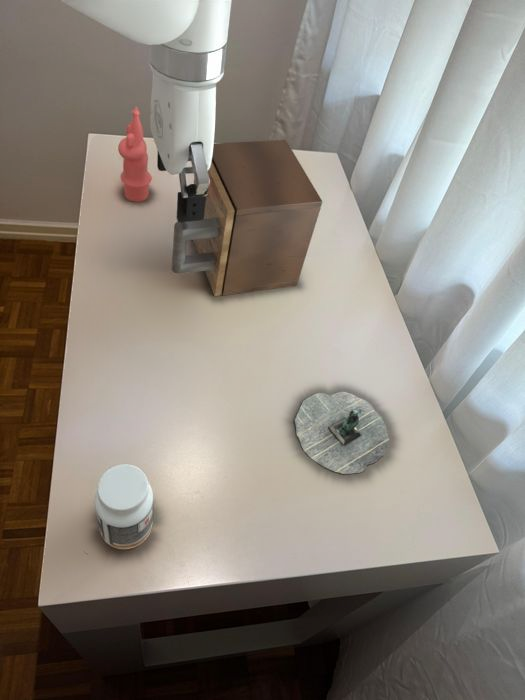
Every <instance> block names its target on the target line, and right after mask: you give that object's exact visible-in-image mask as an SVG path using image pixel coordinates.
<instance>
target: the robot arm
mask: <svg viewBox="0 0 525 700" xmlns="http://www.w3.org/2000/svg"><path fill="white" fill-rule="evenodd" d="M59 1H61V2H62V3H64V4H66V5H67V6H69V7H71V8H72V9H74V10H76V11H77V12H78V13H81V14H82V15H84V16H86V17H88V18H90V19H92V20H94V21H95V22H97V23H99V24H101V25H103V26H104V27H107V28H109V29H110V30H112V31H114V32H115V33H117V34H119V35H122V36H123V37H125V38H126V39H129V40H130V41H133V42H135V43H138V44H143V45H148V66H149V68H150V71H151V72H152V77H151V95H150V114H149V127H150V133H151V136H152V138H153V141H154V144H155V147H156V150H157V160H156V161H157V162H156V163H157V164H156V166H157V170H158V171H160V172H167V173H168V174H170V175H171V176H174V175H178V179H179V186H180V187H179V188H180V191H178V192H177V201H176V220H177V222H189V221H199V220H203V219H204V214H205V204H206V196H207V192H208V191H209V190H208V187H209V184H210V179H209V174H208V170H209V168H210V166H211V162H212V155H213V146H214V143H215V130H216V129H215V128H216V106H217V100H216V99H217V83H218V82H220V81H221V80H222V79H223V77H224V74H225V66H226V65H225V64H226V57H227V56H226V55H227V47H228V37H229V36H228V35H229V27H230V18H231V9H232V0H59ZM187 162H191V166H187V167H186V164H187ZM187 174H193V176H194V177H193V183H190V184H188V180H187Z"/></svg>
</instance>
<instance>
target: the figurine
mask: <svg viewBox="0 0 525 700" xmlns="http://www.w3.org/2000/svg"><path fill="white" fill-rule="evenodd" d="M131 114H132V119H131V121H130V123H128V124H127V125H126V131H125V132H126V137H124V138H122V139H121V140H120V141H119V143H118V145H117V146H118V147H117V149H118V150H117V151H118V154H119V155H120V157H122V158H123V160H122V161H123V162H122V171H121V173H120V180H121V183H123V194H124V197H125V198H126V199H127V200H129V201H130V202H135V203H139V202H144V201H146V200H147V199H148V198H149V195H150V184H151V183H152V181H153V176H152V175H151V173H150V172H149V171H148V163H149V155H148V148H147V147H148V146H147V143H146V141H145V140H144V129H143V126H142V122H141V120H140V117H139V116H140V115H141V111H140V110H139V106H135V107H134V109H133V110H132V111H131Z"/></svg>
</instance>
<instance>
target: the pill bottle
mask: <svg viewBox="0 0 525 700" xmlns="http://www.w3.org/2000/svg"><path fill="white" fill-rule="evenodd" d="M94 509H95V515H96V520H97V527H98V531H99V533H100V536H101V538H102V539H103V540H104V542H105V543H106V544H107V545H108V546H110V547H112V548H115V549H118V550H130V549H134V548H136V547H138V546H140V545H142V544H143V543H144V542H145V541H146V540H147V539H148V537H149V536H150V534H151V532H152V529H153V525H154V524H153V523H154V493H153V489H152V487H151V485H150V483H149V480H148V478H147V475H146V474H145V473H144V471H143V470H142V469H141V468H139V467H138V466H136V465H133V464H129V463H122V464H116V465H113V466H112V467H110V468H108V469H107V470H105V471H104V472H103V473H102V475H101V476H100V478H99V480H98V484H97V489H96V492H95V495H94Z"/></svg>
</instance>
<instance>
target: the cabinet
mask: <svg viewBox="0 0 525 700" xmlns="http://www.w3.org/2000/svg"><path fill="white" fill-rule="evenodd" d="M212 163H213V165H214V167H215V169H216V171H217V173H218V176H219V178H220V180H221V182H222V184H223V186H224V189H225V191H226V193H227V195H228V197H229V199H230V202H231V204H232V206H233V208H234V210H235V212H234V218H233V224H232V230H231V236H230V243H229V249H228V255H227V261H226V267H225V274H224V280H223V286H222V292H221V296H223V297H225V296H231V295H238V294H244V293H252V292H259V291H265V290H266V291H267V290H274V289H279V288H287V287H293V286H294V287H295V286H298V283H299V281H300V278H301V273H302V270H303V267H304V264H305V261H306V257H307V255H308V250H309V247H310V244H311V241H312V238H313V235H314V231H315V228H316V225H317V221H318V218H319V215H320V211H321V208H322V206H323V199H322V198H321V196H320V195H319V193H318V191H317V189H316V187H315V186H314V184H313V183H312V182H311V181H312V180H311V179H310V178H309V177H308V175H307V173H306V171H305V169H304V168H303V166H302V165H301V163H300V161H299V159H298V158H297V156H296V155H295V152H294V151H293V149H292V148H291V145H290V144H289V143H288V141H287V140H286V139H274V140H254V141H237V142H235V141H233V142H218V143H217V142H214V146H213V155H212Z"/></svg>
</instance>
